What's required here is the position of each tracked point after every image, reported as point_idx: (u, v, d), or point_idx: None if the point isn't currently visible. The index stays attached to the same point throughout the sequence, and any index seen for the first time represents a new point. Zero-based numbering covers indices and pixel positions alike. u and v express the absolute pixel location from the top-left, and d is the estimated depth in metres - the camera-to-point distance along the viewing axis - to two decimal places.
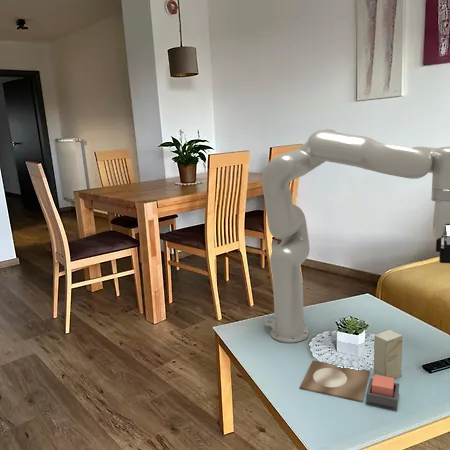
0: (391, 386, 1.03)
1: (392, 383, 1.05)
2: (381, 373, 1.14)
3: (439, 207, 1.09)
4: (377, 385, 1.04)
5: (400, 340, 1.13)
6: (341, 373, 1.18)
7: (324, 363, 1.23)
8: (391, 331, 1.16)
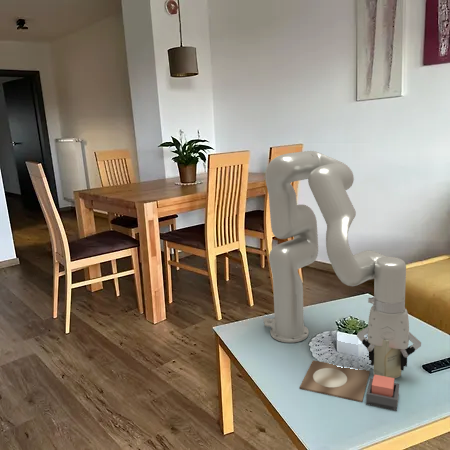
0: (391, 386, 1.03)
1: (392, 383, 1.05)
2: (381, 373, 1.14)
3: (405, 319, 1.08)
4: (377, 385, 1.04)
5: None
6: (341, 373, 1.18)
7: (324, 363, 1.23)
8: None
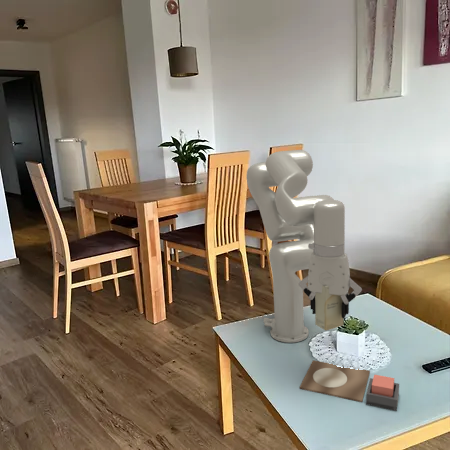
0: (391, 386, 1.03)
1: (392, 383, 1.05)
2: (322, 321, 1.10)
3: (344, 262, 1.05)
4: (377, 385, 1.04)
5: None
6: (341, 373, 1.18)
7: (324, 363, 1.23)
8: None
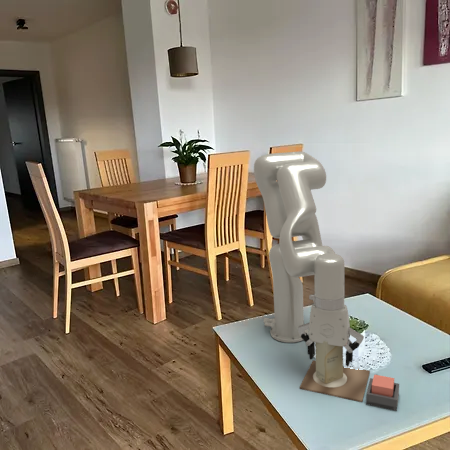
0: (391, 386, 1.03)
1: (392, 383, 1.05)
2: (322, 374, 1.14)
3: (344, 315, 1.08)
4: (377, 385, 1.04)
5: None
6: None
7: None
8: None
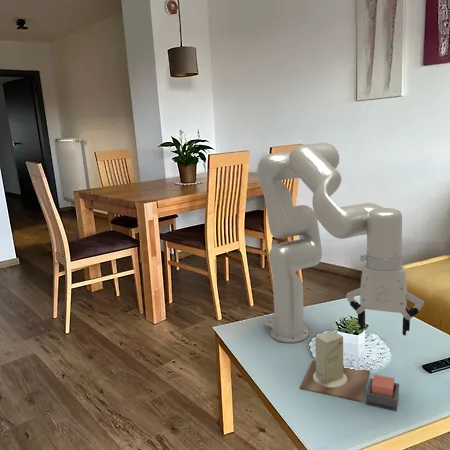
0: (391, 386, 1.03)
1: (392, 383, 1.05)
2: (322, 374, 1.14)
3: (402, 276, 0.96)
4: (377, 385, 1.04)
5: (341, 341, 1.13)
6: None
7: None
8: (333, 332, 1.16)
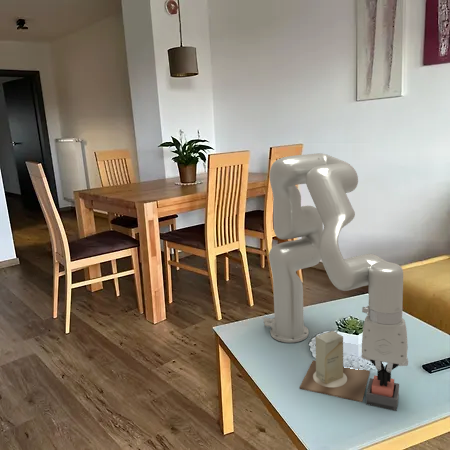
0: (391, 387, 1.04)
1: (392, 384, 1.05)
2: (322, 374, 1.14)
3: (403, 330, 0.98)
4: (377, 386, 1.04)
5: (341, 341, 1.13)
6: None
7: None
8: (333, 332, 1.16)
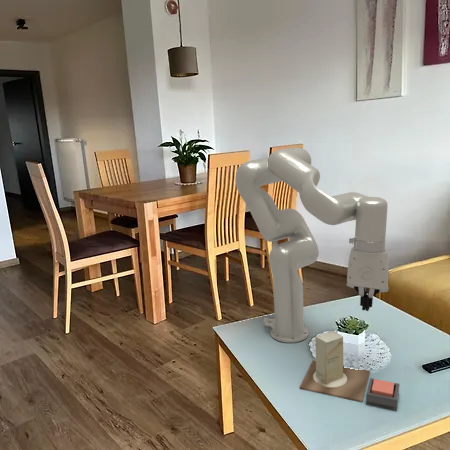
0: (391, 391, 1.04)
1: (392, 388, 1.05)
2: (322, 374, 1.14)
3: (384, 258, 1.08)
4: (377, 390, 1.05)
5: (341, 341, 1.13)
6: None
7: None
8: (333, 332, 1.16)
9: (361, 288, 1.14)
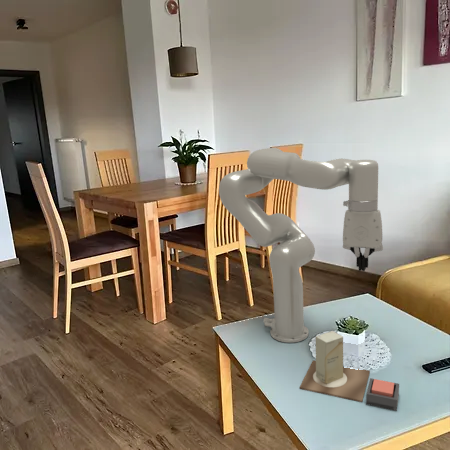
0: (391, 391, 1.04)
1: (392, 388, 1.05)
2: (322, 374, 1.14)
3: (378, 217, 1.13)
4: (377, 390, 1.05)
5: (341, 341, 1.13)
6: None
7: None
8: (333, 332, 1.16)
9: (357, 249, 1.19)
